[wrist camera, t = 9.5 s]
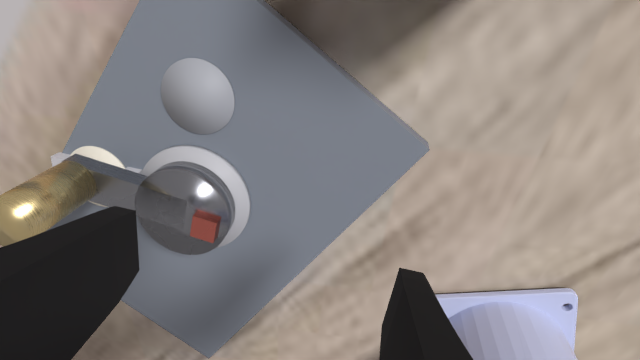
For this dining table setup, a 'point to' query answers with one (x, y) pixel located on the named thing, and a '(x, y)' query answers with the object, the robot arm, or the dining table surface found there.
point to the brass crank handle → (125, 201)
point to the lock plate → (238, 152)
